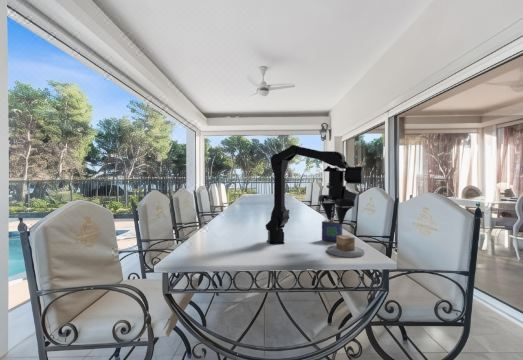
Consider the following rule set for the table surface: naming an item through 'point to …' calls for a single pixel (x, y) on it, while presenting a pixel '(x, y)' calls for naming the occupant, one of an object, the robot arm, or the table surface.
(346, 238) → the walnut cube
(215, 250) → the table surface
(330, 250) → the slate plate
